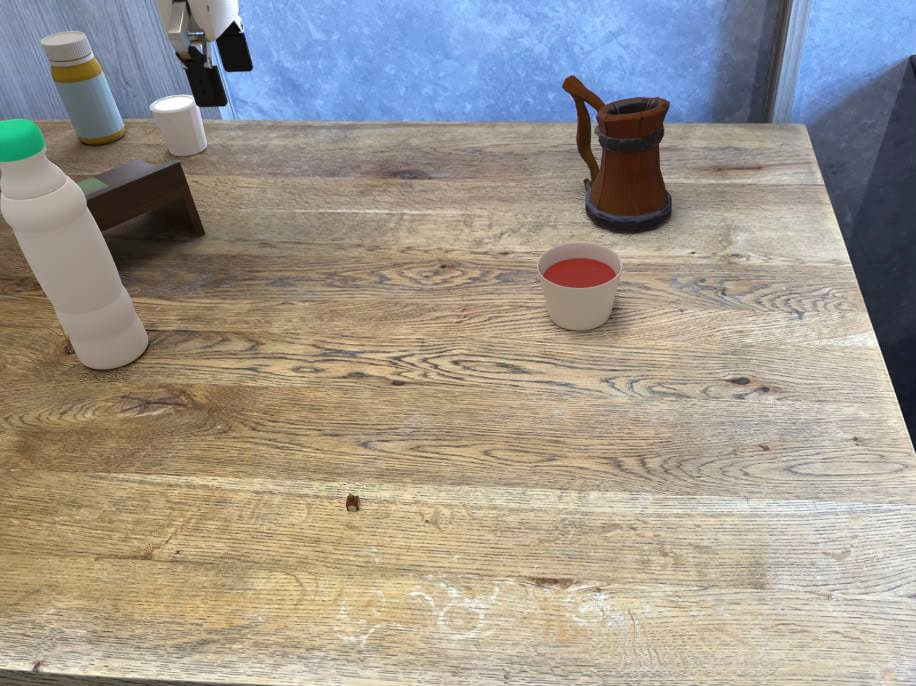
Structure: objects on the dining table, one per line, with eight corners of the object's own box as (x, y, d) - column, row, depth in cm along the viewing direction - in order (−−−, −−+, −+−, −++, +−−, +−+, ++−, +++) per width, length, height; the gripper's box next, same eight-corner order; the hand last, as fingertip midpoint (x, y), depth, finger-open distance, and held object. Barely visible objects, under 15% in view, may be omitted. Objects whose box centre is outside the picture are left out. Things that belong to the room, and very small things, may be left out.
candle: (530, 297, 93) (527, 249, 88) (605, 284, 94) (607, 236, 90) (550, 344, 86) (549, 294, 82) (631, 329, 88) (634, 280, 83)
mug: (535, 192, 111) (531, 81, 101) (600, 166, 116) (601, 58, 106) (624, 245, 100) (629, 127, 90) (691, 214, 105) (703, 99, 95)
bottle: (134, 135, 129) (96, 36, 119) (91, 150, 126) (48, 49, 116) (114, 123, 133) (76, 26, 123) (72, 137, 129) (29, 39, 119)
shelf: (41, 256, 103) (4, 183, 96) (156, 206, 112) (129, 136, 105) (88, 289, 97) (51, 214, 90) (205, 234, 106) (180, 161, 99)
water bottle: (73, 376, 85) (-53, 148, 68) (90, 336, 90) (-23, 114, 73) (143, 368, 85) (36, 139, 69) (156, 328, 91) (59, 106, 74)
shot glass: (219, 139, 127) (205, 94, 122) (198, 159, 122) (183, 113, 117) (179, 137, 128) (164, 92, 123) (156, 156, 123) (139, 111, 119)
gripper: (166, -112, 83) (216, 60, 95) (96, -71, 70) (164, 122, 82) (238, -115, 83) (280, 58, 95) (181, -74, 70) (238, 120, 82)
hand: (226, 87), depth 88 cm, fingers open, 9 cm apart
